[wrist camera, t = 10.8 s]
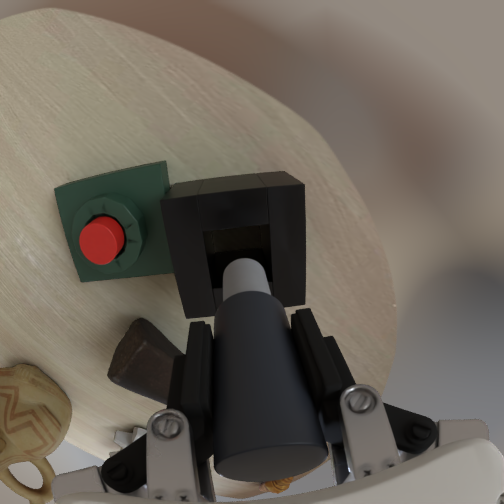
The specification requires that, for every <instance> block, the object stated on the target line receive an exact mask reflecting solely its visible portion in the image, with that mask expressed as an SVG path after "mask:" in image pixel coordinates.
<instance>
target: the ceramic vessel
mask: <svg viewBox="0 0 504 504" xmlns="http://www.w3.org/2000/svg"><path fill="white" fill-rule="evenodd" d="M71 416H72V406H71V403H70V400H69V399H68V397H67V396H66V394H65V393H64V392H63V391H62V390H61V389H60V388H59V386H58V385H57V384H56V383H55V382H54V381H53V380H51V379H50V378H49V377H48V376H47V375H45V374H44V373H42V372H41V371H40V370H39V368H37V367H36V366H29V365H26V364H18V365H16V366H14V367H6V368H0V480H1V481H2V482H3V483H4V484H5V485H6V486H8V487H9V488H10V489H11V490H13V491H14V492H15V493H17V494H19V495H20V496H22V497H24V498H26V499H28V500H29V501H30V504H45V503H47V502H50V501H51V500H52V499H53V494H52V490H51V483H52V480H53V478H54V477H55V476H56V475H55V473H54V470H53V468H52V467H51V465H50V464H49V462H48V461H47V459H46V458H45V457H46V456H48V455H50V454H51V453H52V452H54V451H55V450H56V449H57V447H58V446H59V445H60V444H61V442H62V441H63V439H64V438H65V436H66V434H67V431H68V429H69V426H70V422H71ZM26 461H30V462H31V463H32V464H34V465H35V466H36V467H37V468H38V470H39V471H40V473H41V475H42V477H43V485H42V487H41V488H40V489H32V488H29V487H27V486H25V485H23V484H22V483H20V482H19V481H18V480H17V479H16V478H15V477H14V476H13V475H12V474H11V472H10V471H9V469H8V466H9V465H11V464H14V463H18V462H26Z"/></svg>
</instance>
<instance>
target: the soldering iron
mask: <svg viewBox="0 0 504 504" xmlns="http://www.w3.org/2000/svg"><path fill="white" fill-rule="evenodd" d="M213 453H214V469H215V471H216V472H217V473H218V474H219V475H221V476H223V477H226V478H229V479H232V480H238V481H246V482H264V481H274V480H280V479H285V478H289V477H293V476H296V475H299V474H302V473H305V472H307V471H309V470H311V469H313V468H315V467H317V466H318V465H320V464H321V463H322V462H323V461H325V459H326V458H327V456H328V453H329V451H328V447H327V444H326V441H325V437H324V434H323V431H322V427H321V424H320V421H319V417H318V414H317V411H316V408H315V405H314V401H313V398H312V395H311V392H310V388H309V385H308V382H307V379H306V376H305V372H304V369H303V366H302V363H301V360H300V356H299V353H298V350H297V347H296V344H295V341H294V338H293V334H292V331H291V328H290V325H289V322H288V319H287V316H286V312H285V309H284V307H283V305H282V304H281V302H280V301H279V300H278V299H276V298H275V297H273V296H272V295H271V292H270V289H269V285H268V282H267V278H266V274H265V271H264V269H263V267H262V266H261V265H260V264H259V263H258V262H257V261H255V260H252V259H248V258H242V259H237V260H235V261H233V262H231V263H230V264H229V265H228V266H227V267H226V269H225V271H224V274H223V302H222V303H221V305H220V306H219V307H218V309H217V311H216V313H215V318H214V357H213Z"/></svg>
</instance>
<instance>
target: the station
mask: <svg viewBox="0 0 504 504" xmlns="http://www.w3.org/2000/svg"><path fill="white" fill-rule="evenodd" d="M169 190H170V185H169V178H168V171H167V164H166V161H161V162H155V163H150V164H145V165H140V166H135V167H130V168H125V169H121V170H116V171H112V172H108V173H104V174H99V175H95V176H92V177H88V178H84V179H80V180H77V181H73V182H69V183H66V184H64V185H61V186H59V187H57V188H55V189H54V191H55V196H56V200H57V205H58V209H59V213H60V217H61V221H62V225H63V228H64V232H65V235H66V239H67V242H68V245H69V249H70V252H71V255H72V258H73V261H74V264H75V267H76V270H77V273H78V275H79V278H80V281H81V282H90V281H100V280H110V279H120V278H130V277H139V276H149V275H158V274H167V273H174V269H173V265H172V260H171V256H170V251H169V246H168V242H167V237H166V232H165V227H164V222H163V217H162V211H161V206H160V200H161V199H162V198H163V196H164V195H165V194H166V193H167V192H168V191H169ZM101 216H106V217H110V218H112V219H114V220H115V221H117V222H118V223H119V225H120V226H121V228H122V230H123V233H124V244H123V247H122V249H121V250H120V251H119V253H118V254H117V255H116V256H115V258H114V259H113V260H112V261H111V262H109V263H107V264H103V265H100V264H95V263H93V262H91V261H90V260H88V259H87V258H86V257H85V255H84V254H83V252H82V250H81V248H80V243H79V239H80V234H81V232H82V230H83V229H84V227H85V226H87V225H88V224H89V223H91V222H92V221H93V220H94V219H96V218H98V217H101Z"/></svg>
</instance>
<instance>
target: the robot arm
mask: <svg viewBox="0 0 504 504" xmlns="http://www.w3.org/2000/svg"><path fill="white" fill-rule="evenodd" d="M291 331H292V334H293V338H294V341H295V344H296V347H297V350H298V353H299V356H300V360H301V363H302V366H303V369H304V372H305V376H306V379H307V382H308V385H309V388H310V392H311V395H312V398H313V401H314V405H315V408H316V411H317V414H318V417H319V421H320V424H321V427H322V431H323V434H324V437H325V441H327V442H328V446H329V452H330V459H331V466H332V473H333V480H334V486H333V487H329V488H325V489H320V490H316V491H311V492H307V493H302V494H296V495H291V496H284V497H277V498H270V499H262V500H252V501H236V502H216V497H215V492H214V486H213V481H212V475H211V469H210V463H209V458H210V457H211V456H212V455H213V454H214V453H213V357H214V339H213V335H212V331H211V326H210V324H205V322H204V321H198V322H191V323H190V328H189V335H188V342H187V350H186V354H184V355H175V357H174V362H173V368H172V374H171V381H170V387H169V394H168V401H167V409H163V410H160V411H158V412H156V413H154V414H153V415H152V416H151V417H150V419H149V421H148V424H147V433H145V434H144V435H143V436H141V437H140V438H138V439H137V440H135V441H134V442H133V443H131V444H130V445H128V446H127V447H125V448H124V449H122V450H121V451H119V452H118V453H116V454H115V455H113V456H111V457H110V458H108V459H107V460H106V461H105V462H104V464H103V465H102V466H100V467H97V466H92V467H88V468H84V469H80V470H76V471H72V472H68V473H63V474H59V475H57V476H55V477H54V478H53V480H52V483H51V490H52V494H53V498H54V501H55V504H504V457H503V456H502V454H501V453H500V451H499V450H498V449H497V447H496V446H495V445H494V444H492V443H491V442H490V441H489V430H488V426H487V425H486V423H485V422H483V421H482V420H479V419H468V420H439V421H438V422H433V421H432V420H431V419H430V418H427V417H426V416H422V415H419V414H416V413H412V412H409V411H406V410H403V409H400V408H397V407H394V406H392V405H388V404H386V403H383V402H382V399H381V396H380V394H379V393H378V391H377V390H376V389H374V388H373V387H371V386H369V385H364V384H356V383H355V381H354V379H353V377H352V374H351V372H350V370H349V368H348V366H347V364H346V362H345V359H344V357H343V355H342V353H341V351H340V349H339V347H338V345H337V343H336V341H335V339H334V337H333V336H328V337H323V336H322V334H321V332H320V329H319V327H318V325H317V323H316V320H315V318H314V316H313V314H312V311H311V309H310V308H306V309H299V310H296V313H295V314H291Z"/></svg>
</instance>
